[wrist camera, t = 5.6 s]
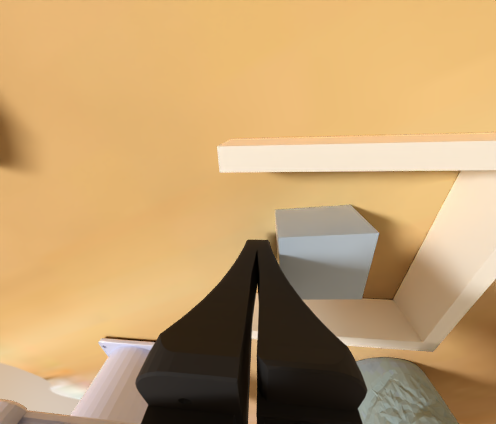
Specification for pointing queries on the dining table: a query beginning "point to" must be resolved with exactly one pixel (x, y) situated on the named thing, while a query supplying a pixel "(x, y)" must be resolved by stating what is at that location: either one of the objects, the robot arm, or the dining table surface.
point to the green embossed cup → (400, 394)
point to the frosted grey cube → (325, 251)
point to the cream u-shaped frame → (432, 249)
